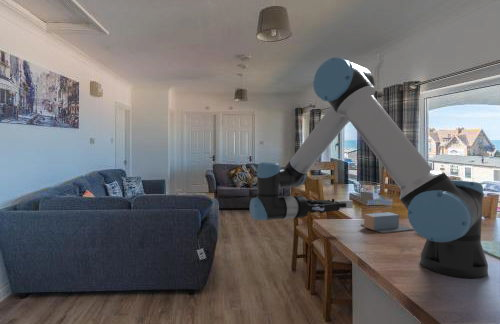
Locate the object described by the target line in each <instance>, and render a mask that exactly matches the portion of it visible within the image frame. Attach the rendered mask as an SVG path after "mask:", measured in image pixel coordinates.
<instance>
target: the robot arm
mask: <svg viewBox="0 0 500 324" xmlns="http://www.w3.org/2000/svg"><path fill="white" fill-rule="evenodd" d="M374 78H375V77H374V75H373V74H372V72H371V71H370V70H369V69H368V68H366V67H364V66H362V65H359V64H357V63H354V62H351V61H350V60H349V59H348V58H344V57H331V58H328V59H326V60H325V61H324V62H322V63H321V64H320V65H319V66H318V68H317V70H316V71H315V73H314V78H313V79H314V80H313V90H314V93H315V94H316V96H317V97H318V98H320V99H321V100H322V101H324V102H328V103H329V104H330V106H329V108H328V109H327V110H326V112H325V114H324V115H323V116H322V118H320V120H319V122H318V123H317V124H316V125H315V127H314V128H313V130H312V131H310V133H309V135H308V136H307V137H306V139H305V140H304V141H303V142H302V144H301V145H300V147H299V148H298V149H297V150H296V152H295V153H294V155H293V156H292V157H291V159H290V160H289V161H288V163H287V164H286V165H285V166H281V165H280V163H279V162H276V161H275V162H272V161H269V162H268V161H267V162H259V163H258V165H257V173H256V176H257V178H256V179H257V182H256V184H257V186H256V189H257V190H256V191H257V192H256V194H257V195H256V197H252V198H251V200H250V202H249V214H250V217H251V218H252V219H253V220H254V221H270V220H271V221H273V220H280V219H281V220H282V219H284V220H285V221H288V219H294V218H295V219H298V218H299V219H302V218H306V217H307V215H308V213H313V214H314V213H318V212H319V214H323V213H329V212H339V211H340V209H353V205H354V204H353V202H354V201H353V200H352V199H348V200H347V199H344V200H341V199H340V200H335V198H331V200H330V199H307V198H306V197H305V196H303V195H294V196H293V195H289V196H280V189H287V188H296V187H298V186H302V185H303V184H305V182H306V181H307V180H306V179H307V173H308V172H309V171H310V170H311V168H312V167H313V165H314V164H316V162H317V161H318V160H319V159H320V158H321V156H322V155H323V153H325V152H326V150H327V149H328V148H329V147H330V145H331V144H332V143H333V141H334V140H335V139H336V138H337V137H338V136H339V134H340V133H341V132H342V130H343V129H344V128H345V127H346V126H347V125H348V123H349V122H350V123H351V124H352V126H353V127H354V129H355V130H356V131H357V133H358V134H359V135H360V137H361V138H362V140H363V141H364V142H365V143H366V145H367V146H368V148H369V149H370V150H371V151H372V153H373V154H374V156H375V157H376V158H377V160H378V161H379V162H380V164H381V165H382V167H383V168H384V169H385V170H386V171H387V174H388V175H389V176H390V177H391V179H392V180H393V181H394V182H395V184H396V186H397V187H398V188H399V189H400V194H399V200H400V201H401V203H402V204H403V206H404V207H405V208H406V210H407V218H408V222H409V224H410V226H411V228H412V229H414V230H413V231H414V232H416V233H417V235H419V236H421V237H422V238H424V239H426V240H425V243H424V245H423V248H422V250H421V252H420V262H419V263H420V264H421V265H422V266H423V267H425V268H426V269H428V270H430V271H433V272H435V273H439V274H442V275H446V276H451V277H455V278H465V279H466V278H467V279H478V278H479V279H480V278H484V277H486V276H487V275H488V274H489V272H488V271H489V263H488V261H487V257H486V254H485V252H484V249H483V245H482V242H481V241H482V223H483V222H482V220H483V219H482V217H483V198H484V196H485V194H484V193H485V192H484V187H483V185H482V184H481V183H479V182H476V181H469V180H457V179H456V180H455V179H450V177H449V176H448V175H447V174H446V173H445V172H444V171H439V170H434V169H433V168H432V167H431V165H430V164H429V163H428V162H427V160H426V159H425V158H424V157H423V155H422V154H421V153H420V152H419V150H418V149H417V148H416V147H415V146H414V145H413V143H412V141H410V139H409V138H408V137H407V136H406V135H405V133H404V132H403V131H402V129H401V128H400V127H399V126H398V125H397V123H396V122H395V121H394V120H393V118H392V117H391V116H390V115H389V114H388V112H387V111H386V110H385V109H384V107H383V106H382V105H381V104H380V102H379V101H378V99H377V98H376V97H375V93H376V87H375V85H376V82H375V79H374Z"/></svg>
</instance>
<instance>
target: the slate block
mask: <svg viewBox="0 0 500 324" xmlns="http://www.w3.org/2000/svg"><path fill="white" fill-rule="evenodd" d="M363 220H364V228H367V229H369V230H372V231H374V230H379V229H390V228H399V225H400V224H399V223H400V215H399V214H397V213H395V212H391V211H389V212H388V211H387V212H375V213H364V219H363Z"/></svg>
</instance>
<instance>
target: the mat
mask: <svg viewBox="0 0 500 324" xmlns="http://www.w3.org/2000/svg"><path fill="white" fill-rule="evenodd" d="M360 226H362V227H363V226H364V224H363V223H362V224H361V223H360ZM373 231H374V232H377V233H380V234H388V233H389V234H390V233H397V232H399V233H400V232H409V231H415V230H414V229H413V228H412V227H408V226H405V225H403V224H399V228H390V229H379V230H373Z"/></svg>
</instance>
